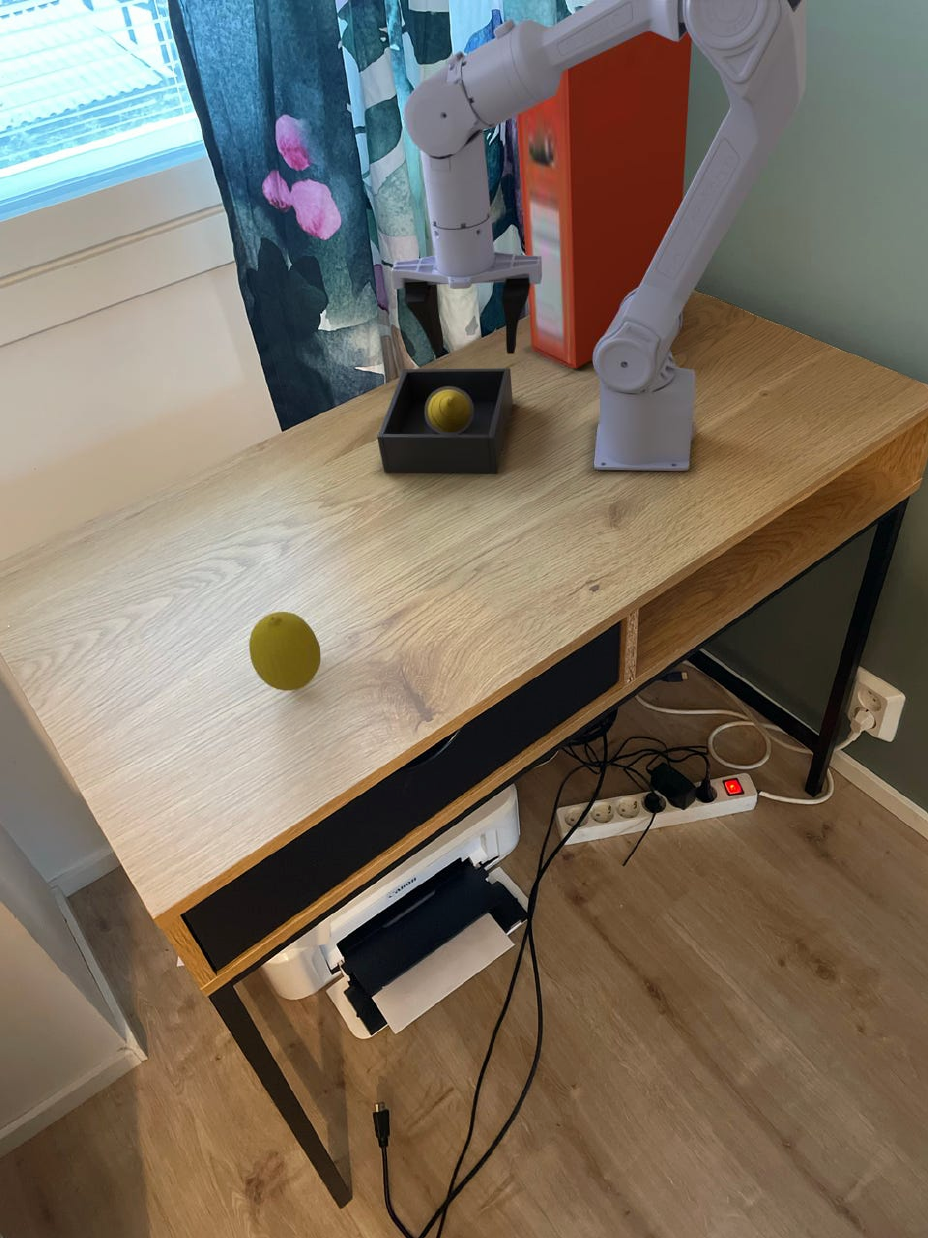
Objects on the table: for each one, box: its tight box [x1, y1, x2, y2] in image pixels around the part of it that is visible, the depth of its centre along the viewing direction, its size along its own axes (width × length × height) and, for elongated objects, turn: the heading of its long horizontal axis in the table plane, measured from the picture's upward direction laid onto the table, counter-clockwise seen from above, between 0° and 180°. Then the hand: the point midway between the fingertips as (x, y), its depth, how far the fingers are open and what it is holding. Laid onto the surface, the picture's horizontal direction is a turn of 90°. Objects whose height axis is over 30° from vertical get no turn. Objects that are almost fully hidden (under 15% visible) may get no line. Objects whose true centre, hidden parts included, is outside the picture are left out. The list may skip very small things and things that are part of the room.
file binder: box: [516, 31, 693, 370], centre depth 100 cm, size 8×17×32 cm, turn 129°
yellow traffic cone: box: [424, 386, 474, 434], centre depth 96 cm, size 5×5×10 cm
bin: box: [376, 367, 514, 475], centre depth 97 cm, size 12×13×4 cm
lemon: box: [248, 611, 321, 692], centre depth 73 cm, size 6×6×8 cm
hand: (475, 349), depth 93 cm, fingers open, 7 cm apart
